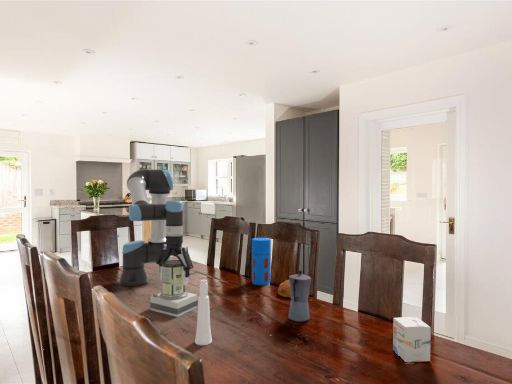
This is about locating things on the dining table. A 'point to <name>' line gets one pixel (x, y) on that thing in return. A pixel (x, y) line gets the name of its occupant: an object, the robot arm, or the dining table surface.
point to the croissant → (284, 289)
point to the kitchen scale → (173, 304)
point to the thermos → (261, 261)
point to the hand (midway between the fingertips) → (174, 282)
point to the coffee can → (172, 279)
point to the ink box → (411, 339)
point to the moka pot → (299, 297)
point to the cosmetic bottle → (203, 316)
